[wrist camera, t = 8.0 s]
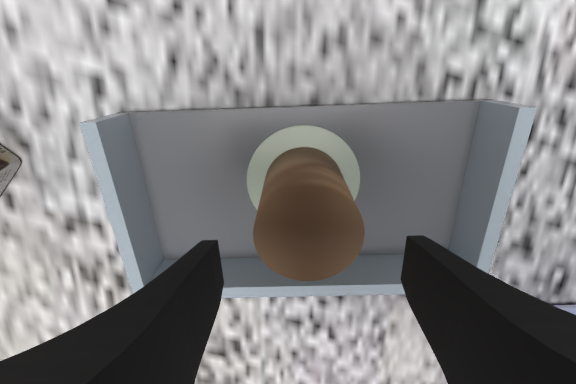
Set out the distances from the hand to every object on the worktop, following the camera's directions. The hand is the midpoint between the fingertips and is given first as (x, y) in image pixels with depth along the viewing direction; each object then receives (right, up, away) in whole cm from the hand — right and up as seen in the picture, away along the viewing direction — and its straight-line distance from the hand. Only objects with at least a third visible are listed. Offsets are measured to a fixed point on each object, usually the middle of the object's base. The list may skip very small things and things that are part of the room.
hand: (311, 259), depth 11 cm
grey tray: (0, +3, +8) cm, 8 cm away
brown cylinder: (0, +3, +7) cm, 8 cm away
